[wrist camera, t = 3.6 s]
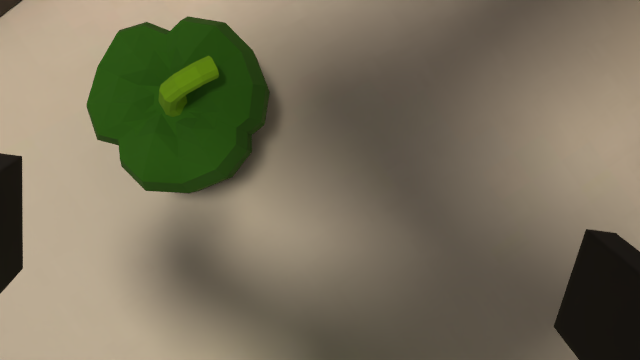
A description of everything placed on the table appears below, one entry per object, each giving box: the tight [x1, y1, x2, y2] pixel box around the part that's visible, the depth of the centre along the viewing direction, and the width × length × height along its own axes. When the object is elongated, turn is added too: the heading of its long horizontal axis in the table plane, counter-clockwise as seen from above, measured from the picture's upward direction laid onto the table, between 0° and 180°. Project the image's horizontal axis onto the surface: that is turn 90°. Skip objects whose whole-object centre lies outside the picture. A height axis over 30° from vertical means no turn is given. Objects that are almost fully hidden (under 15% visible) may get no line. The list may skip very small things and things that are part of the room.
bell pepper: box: [87, 17, 270, 193], centre depth 29 cm, size 8×8×10 cm
